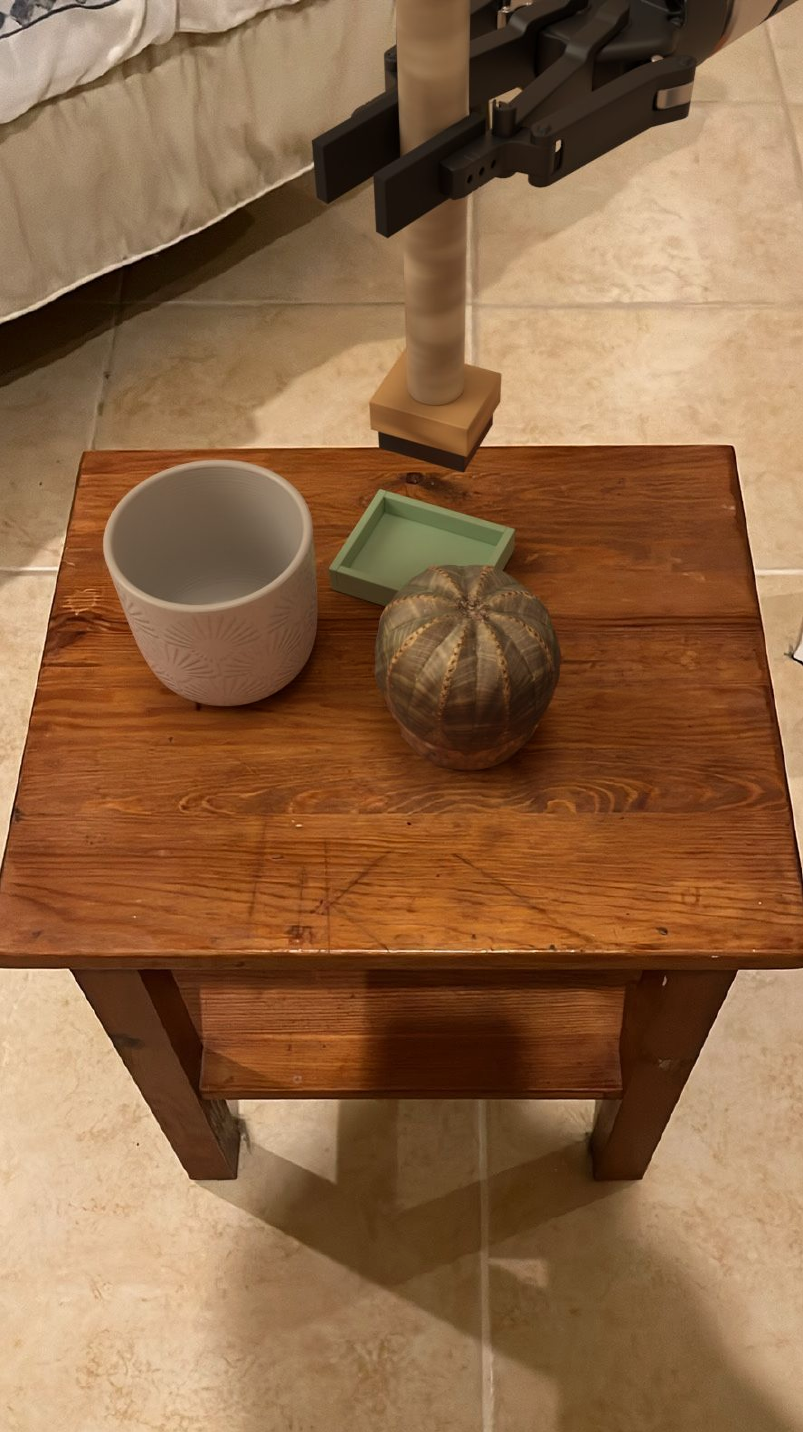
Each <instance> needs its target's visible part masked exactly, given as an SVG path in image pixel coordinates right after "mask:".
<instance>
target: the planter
mask: <svg viewBox="0 0 803 1432" xmlns="http://www.w3.org/2000/svg"><path fill="white" fill-rule="evenodd" d="M313 527H314V525H313V519H312V514H311V511H310V509H309V506H308V504H307V502H306V500H305V498H304V497H303V496H302V493H300V491H299V490H298V489H297V487H295V486H294V485H293V484H291V482H290V481H288V480H287V479H286V478H284V477H282V476H281V475H279V474H278V473H276V472H274V471H272V470H271V469H268V468H265V467H263V466H262V465H261V466H260V465H257V464H254V463H250V462H246V461H241V460H236V459H235V460H233V459H204V460H203V459H202V460H196V461H191V462H186V463H182V464H181V463H180V464H178V465H175V466H172V467H169V468H167V469H163V470H161V471H159V472H157V473H155V474H153V475H151V476H150V477H148V478H146V479H144V480H143V481H141V482H140V483H138V484H137V485H135V486H134V487H133V488H132V489H131V490H129V491H128V492H127V493H126V494H125V495H124V496H123V497H122V498H121V500H120V501H119V502H118V504H116V506H115V507H114V509H113V510H112V512H111V514H110V516H109V518H108V520H107V522H106V525H105V528H104V531H103V541H102V547H103V549H102V550H103V556H104V560H105V563H106V566H107V568H108V571H109V574H110V577H111V580H112V582H113V585H114V588H115V590H116V594H117V596H118V599H119V601H120V605H121V607H122V609H123V613H124V615H125V618H126V621H127V623H128V625H129V629H130V630H131V633H132V635H133V638H134V640H135V643H136V645H137V647H138V649H139V651H140V653H141V655H142V657H143V659H144V661H145V662H146V664H147V665H148V667H149V669H150V670H151V671H152V672H153V673H154V675H155V677H157V679H158V680H159V681H160V682H161V683H162V684H163V685H164V686H166V687H167V688H168V689H169V690H171V691H172V692H174V693H175V694H177V695H178V696H180V697H182V698H185V699H187V700H190V701H192V702H195V703H198V704H203V705H208V706H214V707H215V706H216V707H235V706H242V705H247V704H251V703H254V702H259V701H261V700H263V699H265V698H268V697H269V696H270V697H271V696H272V695H274V694H275V693H277V692H278V691H280V690H282V689H283V688H284V687H286V686H287V685H288V684H290V683H291V682H292V681H293V680H294V679H295V678H296V677H297V676H298V675H299V673H300V672H301V671H302V669H303V668H304V667H305V665H306V663H307V662H308V660H309V657H310V656H311V653H312V650H313V648H314V645H315V644H314V643H315V640H316V635H317V627H318V608H319V607H318V606H319V605H318V604H319V603H318V582H317V581H318V579H317V568H316V567H317V566H316V565H317V564H316V552H315V551H316V550H315V539H314V528H313Z"/></svg>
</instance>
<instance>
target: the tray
mask: <svg viewBox="0 0 803 1432" xmlns="http://www.w3.org/2000/svg"><path fill="white" fill-rule="evenodd" d="M515 541H516V529H515V528H513V527H510V526H506V525H502V524H498V523H495V522H492V521H489V520H485V519H482V518H479V517H475V516H472V515H470V514H469V515H468V514H466V513H463V512H460V511H459V512H458V511H455V510H452V509H449V508H446V507H442V506H439V505H435V504H431V503H429V502H425V501H422V500H418V499H415V498H411V497H408V496H405V495H403V494H398V493H395V492H391V491H387V490H384V489H381V488H380V489H378V490H377V492H376V493H375V495H374V497H373V498H372V500H371V502H370V503H369V505H368V506H367V508H366V510H365V511H364V513H363V514H362V516H361V517H360V519H359V521H358V522H357V523H356V525H355V527H354V528H353V530H352V531H351V533H350V534H349V536H348V537H347V539H346V541H345V542H344V543H343V546H341V549H340V550H339V552H338V553H337V555H336V556H335V558H334V559H333V561H332V563H331V564H330V566H329V567H328V575H329V584H330V589H331V590H333V591H336V592H339V593H342V594H345V595H348V596H351V597H355V598H357V599H361V600H364V601H367V602H369V603H372V604H376V605H380V606H382V607H386V606H387V605H388V604H389V603H390V601H391V600H392V598H393V597H394V595H395V594H396V593H397V592H398V591H399V590H401V589H402V588H403V587H404V586H405V584H406V583H407V582H408V581H409V580H410V579H412V578H414V577H415V576H417V575H419V574H420V573H422V572H424V571H425V570H426V569H427V568H428V567H430V566H442V565H456V566H468V565H492V566H494V567H495V568H497V569H498V570H501V571H503V572H504V569H505V568H506V565H507V564H508V562H509V561H510V558H511V556H512V555H513V553H514V551H515Z"/></svg>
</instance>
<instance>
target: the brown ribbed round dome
mask: <svg viewBox="0 0 803 1432" xmlns="http://www.w3.org/2000/svg"><path fill="white" fill-rule="evenodd" d="M384 607H385V606H384ZM377 629H378V630H377V634H376V638H375V646H374V663H375V664H374V671H373V672H374V673H373V675H374V678H375V682H376V684H377V686H378V688H379V690H380V691H381V694H382V697H383V698H384V700H385V702H386V704H387V705H386V708H387V710H388V711H390V713H391V714H392V715H391V718H393V719H394V720H395V721H396V722H397V724H398V727H399V730H400V737H401V738H402V739H404V740H405V741H406V742H407V743H408V744H409V745H410V746H411V748H412V749H413V750H414V751H415V752H416V753H417V754H418V755H420V756H421V757H422V758H423V759H424V760H425V761H426V760H427V761H428V762H430V763H433V764H434V765H436V766H437V767H440V768H444V769H453V770H460V771H477V770H484V769H489V768H492V767H495V766H498V765H500V764H502V763H504V762H506V761H508V760H509V759H511V757H513V756H514V755H515V754H516V753H518V751H519V750H520V749H521V748H522V747H525V746H526V745H527V744H528V742H529V741H530V740H531V738H532V737H533V734H534V733H535V732H536V729H537V728H539V725H538V724H539V723H540V721H541V720H542V718H543V716H544V715H545V713H546V711H547V710H548V708H549V705H550V704H551V702H552V700H553V698H554V695H555V691H556V689H557V686H558V683H559V679H560V674H561V664H562V663H561V662H562V654H561V653H562V651H561V648H560V642H559V638H558V636H557V633H556V630H555V626H554V623H553V621H552V619H551V616H550V613H549V610H548V607H547V605H546V603H544V601H542V600H541V597H539V596H537V595H536V594H535V593H534V592H533V591H532V590H531V589H530V588H528V587H526V586H524V585H521V584H520V582H519V581H518V580H517V579H516V578H515V577H514V576H512V575H510V574H508V573H507V572H505V571H504V570H503V571H501V570H498V569H497V568H495V567H494V566H492V565H468V566H456V565H442V566H430V567H428V568H427V569H426V570H425V571H424V572H422V573H420V574H419V575H417V576H415V577H414V578H412V579H410V580H409V581H408V582H407V583H406V584H405V586H404V587H403V588H402V589H401V590H399V591H398V592H397V593H396V594H395V595H394V597H393V598H392V600H391V601H390V603H389V604H388V605H387V606H386V607H385V608H384V609H383V611H382V613H381V614H380V618H379V622H378V628H377Z"/></svg>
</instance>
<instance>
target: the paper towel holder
mask: <svg viewBox="0 0 803 1432" xmlns="http://www.w3.org/2000/svg"><path fill="white" fill-rule="evenodd" d="M394 2H395V27H396V29H395V33H396V34H395V35H396V44H397V67H398V100H399V133H400V157H402V156H403V155H405V154H407V153H408V152H410V151H411V150H413V149H415V148H416V147H418V146H419V145H421V144H423V143H424V142H426V141H428V140H429V139H431V138H432V137H434V136H436V135H437V134H439V133H440V132H442V131H444V130H445V129H447V128H448V127H450V126H452V125H453V124H455V123H457V122H459V121H460V120H462V119H463V118H465V117H466V116H468V115H469V114H470V113H469V112H470V111H469V110H470V109H469V52H470V0H395V1H394ZM401 232H402V259H403V261H402V262H403V263H402V264H403V293H404V294H403V295H404V296H403V297H404V327H405V347H404V349H403V350H402V352H401V353H400V355H399V356H398V358H397V359H396V361H395V362H394V363H393V365H392V366H391V368H390V369H389V371H388V372H387V374H386V376H385V377H384V378H383V380H382V381H381V383H380V384H379V386H378V387H377V388H376V390H375V392H374V394H373V395H372V396H371V398H370V399H369V400H368V405H369V406H368V407H369V421H370V422H369V423H370V430H371V431H376V432H377V437H378V448H379V449H381V450H383V451H388V452H391V453H394V454H397V455H401V456H405V457H408V458H412V459H415V460H418V461H422V462H425V463H428V464H432V465H435V466H438V467H441V468H446V469H449V470H452V471H456V472H460V473H462V474H464V473H465V472H466V470H467V468H468V467H469V465H470V464H471V462H472V460H473V458H474V456H476V453H477V452H478V450H479V448H480V447H481V445H482V443H483V442H484V440H485V439H486V437H487V436H488V433H489V432H490V430H491V428H492V427H493V425H494V413H495V411H496V410H497V408H498V406H499V405H500V403H501V397H502V394H501V393H502V376H503V375H502V374H503V373H501V372H498V371H494V370H491V369H486V368H484V367H480V366H475V365H473V364H468V363H466V359H465V358H466V309H467V307H466V304H467V303H466V302H467V301H466V299H467V297H466V296H467V242H468V241H467V237H468V235H467V234H468V196H466V197H464V198H461V199H457V200H452V199H450V198H449V199H448V200H446V201H445V202H443V203H442V204H440V205H439V206H437V207H435V208H434V209H432V210H431V211H429V212H428V213H426V214H425V215H423V216H422V217H420V218H419V219H417V220H415V221H414V222H412V223H411V224H409V225H408V226H406V227H405V228H403V229H402V230H401Z"/></svg>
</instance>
